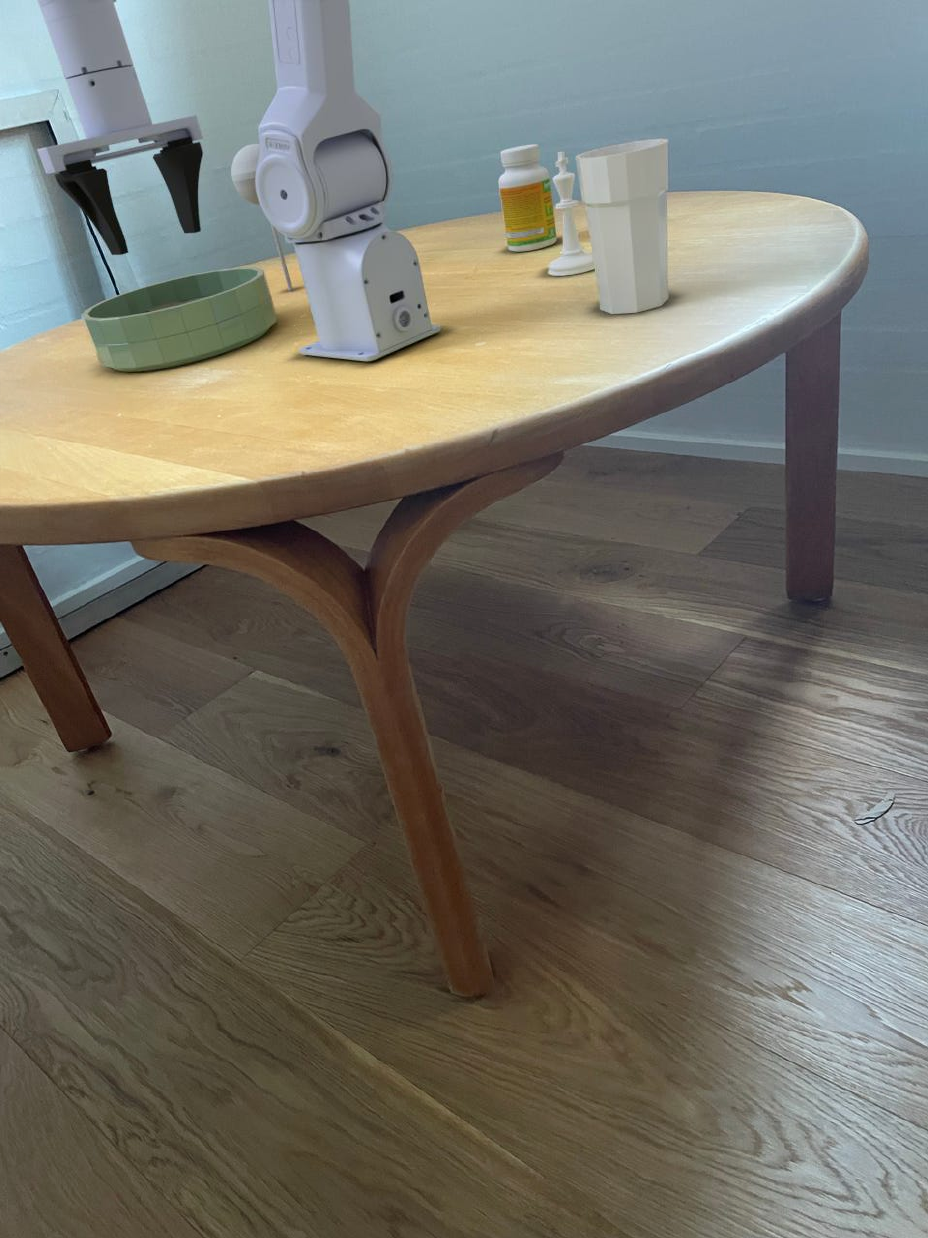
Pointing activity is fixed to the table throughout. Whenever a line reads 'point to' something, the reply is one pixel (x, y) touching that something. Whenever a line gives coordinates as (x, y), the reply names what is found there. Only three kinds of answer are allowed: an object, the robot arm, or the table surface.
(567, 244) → the chess piece
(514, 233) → the supplement bottle
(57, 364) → the table surface
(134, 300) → the bowl
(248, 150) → the lollipop
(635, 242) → the cup
